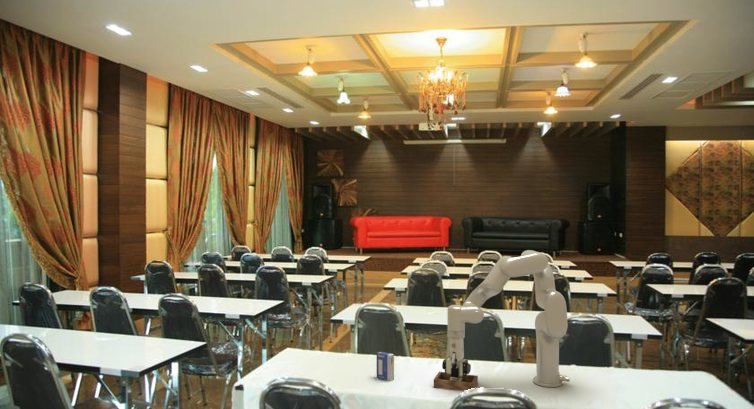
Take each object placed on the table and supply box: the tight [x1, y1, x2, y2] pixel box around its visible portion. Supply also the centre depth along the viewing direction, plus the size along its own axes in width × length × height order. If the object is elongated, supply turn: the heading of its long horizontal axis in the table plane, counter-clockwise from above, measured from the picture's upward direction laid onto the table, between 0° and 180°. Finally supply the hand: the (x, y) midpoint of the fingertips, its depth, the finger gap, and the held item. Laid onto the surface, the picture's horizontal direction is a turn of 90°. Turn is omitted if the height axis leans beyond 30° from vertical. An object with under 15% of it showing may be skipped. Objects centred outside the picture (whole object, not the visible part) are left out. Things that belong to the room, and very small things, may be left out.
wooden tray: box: [433, 371, 479, 392], centre depth 234 cm, size 17×11×4 cm, turn 71°
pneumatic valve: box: [441, 356, 472, 382], centre depth 234 cm, size 6×12×12 cm, turn 58°
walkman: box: [376, 351, 395, 382], centre depth 242 cm, size 8×3×12 cm, turn 57°
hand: (456, 374), depth 234 cm, fingers open, 6 cm apart
